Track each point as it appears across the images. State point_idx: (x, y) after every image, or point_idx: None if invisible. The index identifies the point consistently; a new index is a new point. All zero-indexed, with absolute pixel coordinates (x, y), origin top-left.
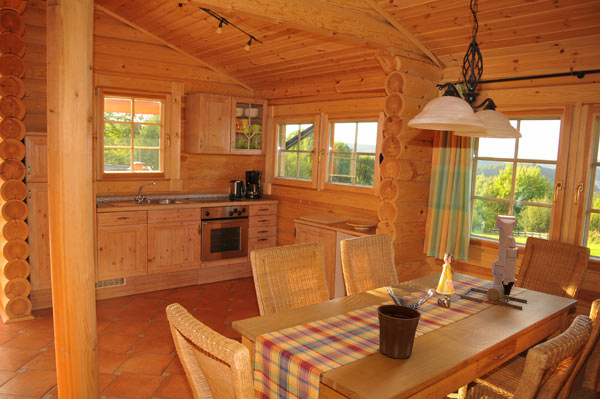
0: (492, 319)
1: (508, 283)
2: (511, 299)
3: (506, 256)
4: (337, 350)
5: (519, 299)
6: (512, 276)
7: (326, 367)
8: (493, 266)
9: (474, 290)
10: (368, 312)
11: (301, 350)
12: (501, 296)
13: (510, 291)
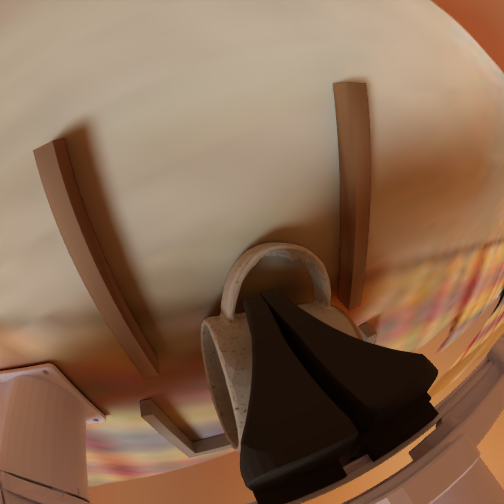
0: (501, 179)
1: (425, 403)
2: (114, 281)
3: None
4: None
5: (79, 220)
6: (499, 492)
7: None
8: None
9: (188, 439)
10: (487, 331)
11: None
12: (313, 315)
13: (276, 323)
